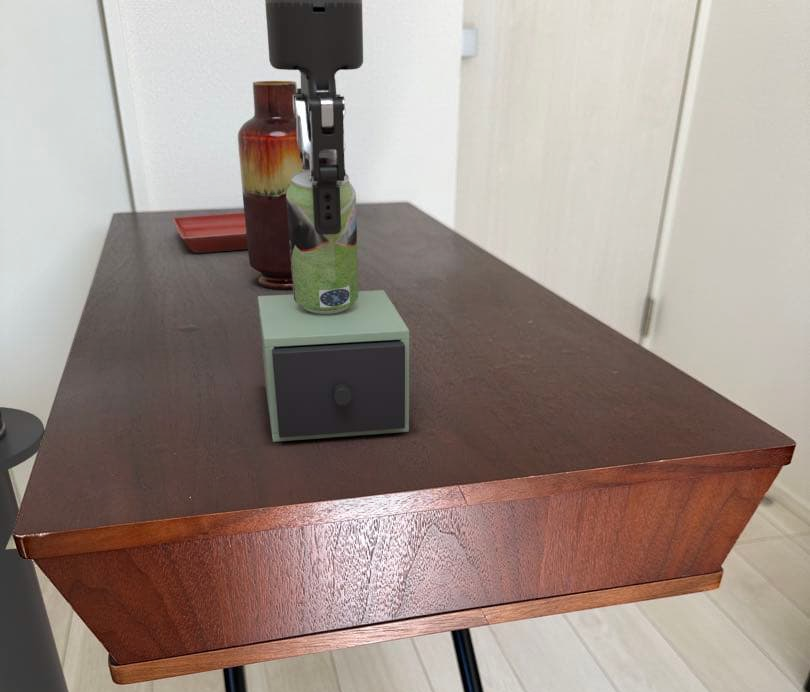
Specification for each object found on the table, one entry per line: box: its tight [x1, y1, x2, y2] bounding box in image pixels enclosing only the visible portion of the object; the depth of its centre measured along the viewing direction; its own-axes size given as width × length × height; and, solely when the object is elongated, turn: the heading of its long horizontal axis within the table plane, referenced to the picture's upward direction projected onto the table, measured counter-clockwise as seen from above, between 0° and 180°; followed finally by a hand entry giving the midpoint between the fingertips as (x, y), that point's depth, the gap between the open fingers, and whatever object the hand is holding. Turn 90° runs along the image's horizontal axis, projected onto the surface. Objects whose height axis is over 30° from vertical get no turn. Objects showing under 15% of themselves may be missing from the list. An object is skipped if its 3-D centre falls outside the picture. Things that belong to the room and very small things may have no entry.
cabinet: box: [257, 289, 410, 443], centre depth 80 cm, size 14×13×10 cm
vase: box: [237, 80, 304, 290], centre depth 118 cm, size 11×11×26 cm
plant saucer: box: [172, 212, 248, 254], centre depth 147 cm, size 18×18×3 cm
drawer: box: [272, 340, 405, 437], centre depth 78 cm, size 14×11×8 cm
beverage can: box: [286, 169, 359, 314], centre depth 75 cm, size 6×7×12 cm
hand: (323, 225), depth 74 cm, fingers closed on beverage can, 6 cm apart
